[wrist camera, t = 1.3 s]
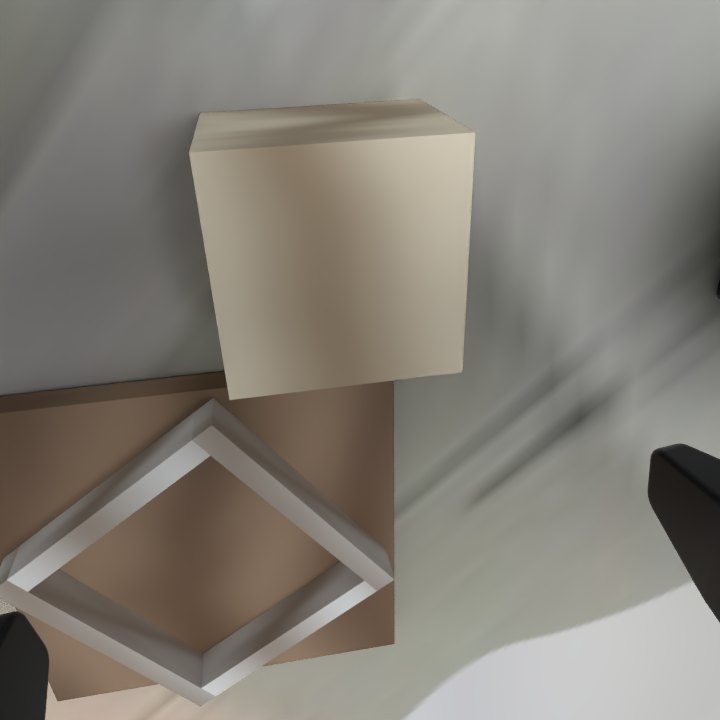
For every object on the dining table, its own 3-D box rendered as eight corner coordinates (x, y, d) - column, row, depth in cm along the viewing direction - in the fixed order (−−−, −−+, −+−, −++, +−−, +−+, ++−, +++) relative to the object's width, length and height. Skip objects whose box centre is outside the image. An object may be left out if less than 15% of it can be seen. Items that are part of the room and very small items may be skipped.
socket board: (387, 353, 22) (404, 393, 20) (389, 624, 29) (402, 675, 27) (-56, 402, 20) (-90, 452, 18) (63, 678, 27) (48, 738, 25)
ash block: (418, 98, 18) (475, 132, 14) (416, 294, 21) (462, 372, 17) (200, 111, 17) (188, 152, 13) (230, 313, 20) (229, 399, 16)
